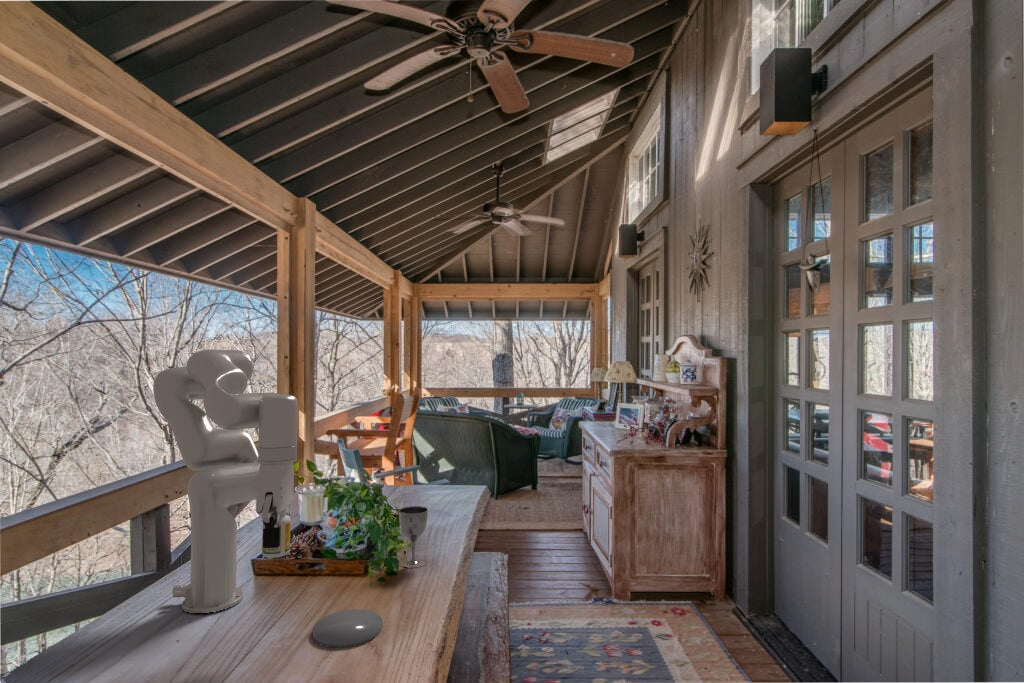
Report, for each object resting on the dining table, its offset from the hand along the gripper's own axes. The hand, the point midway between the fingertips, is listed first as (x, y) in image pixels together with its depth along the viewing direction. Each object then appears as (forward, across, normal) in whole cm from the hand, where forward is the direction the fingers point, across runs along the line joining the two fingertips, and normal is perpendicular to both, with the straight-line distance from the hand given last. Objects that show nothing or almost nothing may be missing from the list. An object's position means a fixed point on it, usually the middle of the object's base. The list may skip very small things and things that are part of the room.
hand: (276, 541), depth 113 cm
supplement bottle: (+3, 0, 0) cm, 3 cm away
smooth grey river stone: (+19, -1, +15) cm, 24 cm away
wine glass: (+20, -38, +25) cm, 50 cm away
